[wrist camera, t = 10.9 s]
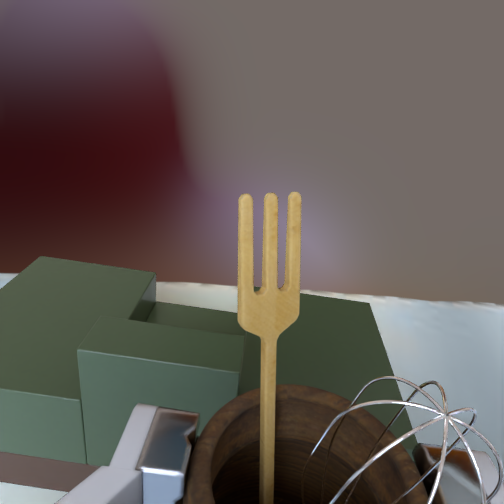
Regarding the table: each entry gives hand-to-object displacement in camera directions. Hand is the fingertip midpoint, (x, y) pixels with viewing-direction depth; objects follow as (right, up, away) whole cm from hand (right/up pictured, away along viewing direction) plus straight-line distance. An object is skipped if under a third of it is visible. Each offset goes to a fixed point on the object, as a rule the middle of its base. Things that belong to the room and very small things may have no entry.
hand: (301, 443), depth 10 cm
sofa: (-6, -6, +17) cm, 19 cm away
